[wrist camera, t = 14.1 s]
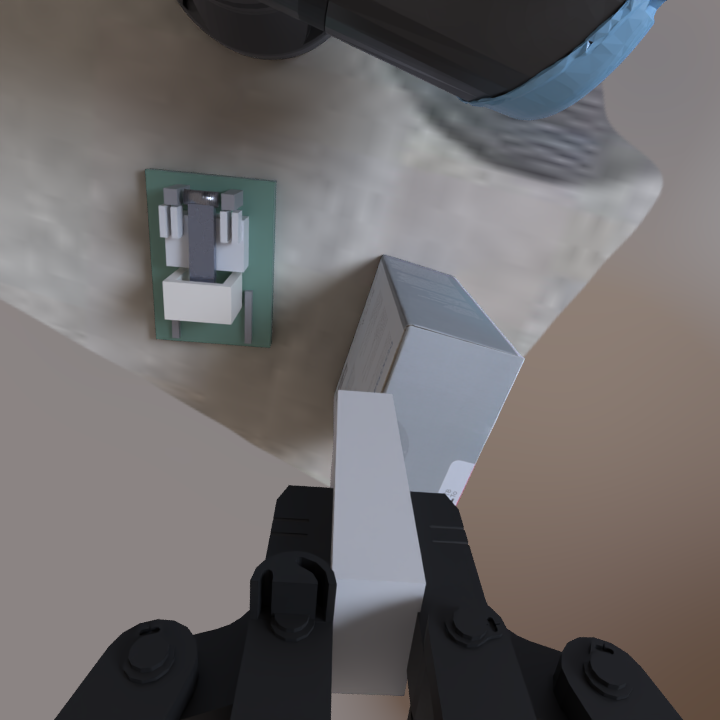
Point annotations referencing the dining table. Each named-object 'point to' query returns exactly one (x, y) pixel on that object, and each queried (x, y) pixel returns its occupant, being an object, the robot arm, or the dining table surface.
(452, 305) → the hard drive box
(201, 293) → the white open-sided box
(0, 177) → the dining table surface
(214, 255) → the grey rectangular bar
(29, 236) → the dining table surface
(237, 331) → the board
